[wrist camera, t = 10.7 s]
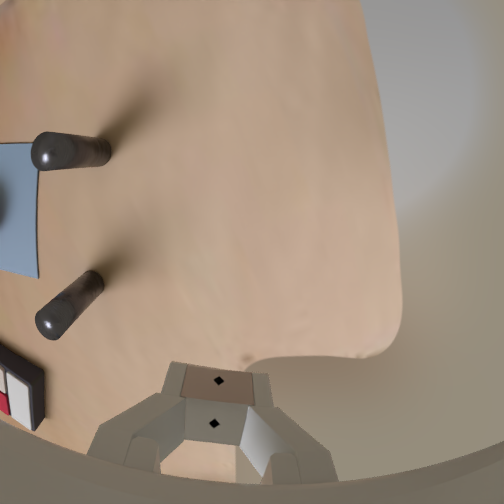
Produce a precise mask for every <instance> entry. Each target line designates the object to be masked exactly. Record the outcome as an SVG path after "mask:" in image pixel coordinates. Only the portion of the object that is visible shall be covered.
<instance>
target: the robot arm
mask: <svg viewBox="0 0 504 504" xmlns="http://www.w3.org/2000/svg"><path fill="white" fill-rule="evenodd" d="M184 439H185V440H193V441H202V442H212V443H219V444H227V445H237V446H240V448H241V449H242V451H243V452H244V454H245V455H246V456H247V458H248V459H249V460H250V462H251V463H252V464H253V466H254V467H255V468H256V470H257V471H258V472H259V474H260V475H261V476H262V480H261V483H260V484H241V483H227V482H215V481H206V480H198V479H190V478H183V477H177V476H171V475H165V474H161V469H160V463H161V462H162V461H163V460H164V459H165V458H166V457H167V456H168V455H169V454H170V453H171V452H172V451H173V450H175V449H176V448H177V447H178V446H179V445H180V444H181V443H182V442H183V441H184ZM0 504H504V441H503V442H500V443H498V444H495V445H493V446H490V447H488V448H485V449H482V450H480V451H477V452H474V453H471V454H468V455H465V456H462V457H459V458H455V459H452V460H449V461H445V462H442V463H438V464H434V465H431V466H427V467H423V468H419V469H414V470H410V471H405V472H400V473H395V474H390V475H385V476H379V477H372V478H366V479H358V480H350V481H340V482H339V481H338V477H337V474H336V471H335V468H334V464H333V461H332V457H331V454H330V452H329V450H327V449H326V448H325V447H324V446H322V445H321V444H320V443H319V442H317V441H316V440H315V439H314V438H313V437H312V436H310V435H309V434H308V433H307V432H306V431H305V430H303V429H302V428H301V427H300V426H299V425H297V423H295V422H294V421H293V420H292V419H291V418H290V417H289V416H287V415H286V414H285V413H284V412H283V411H282V410H281V409H280V408H278V407H274V406H273V400H272V393H271V386H270V380H269V374H268V373H261V372H242V371H232V370H224V369H218V368H211V367H205V366H199V365H193V364H187V363H181V362H175V361H172V362H171V363H170V365H169V368H168V372H167V375H166V378H165V382H164V385H163V388H162V392H161V393H155V394H153V395H152V396H150V397H148V398H146V399H145V400H143V401H141V402H140V403H138V404H136V405H135V406H133V407H131V408H129V409H128V410H126V411H124V412H122V413H121V414H119V415H117V416H115V417H114V418H112V419H110V420H108V421H106V422H105V423H103V424H101V425H99V428H98V430H97V432H96V434H95V437H94V439H93V441H92V443H91V446H90V448H89V450H88V452H87V455H85V454H82V453H79V452H76V451H73V450H70V449H68V448H65V447H62V446H59V445H57V444H54V443H52V442H49V441H47V440H44V439H42V438H39V437H37V436H35V435H32V434H30V433H28V432H26V431H23V430H21V429H19V428H17V427H15V426H13V425H11V424H9V423H7V422H5V421H3V420H1V419H0Z"/></svg>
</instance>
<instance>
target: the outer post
mask: <svg viewBox="0 0 504 504" xmlns="http://www.w3.org/2000/svg"><path fill="white" fill-rule="evenodd" d="M103 289H104V282H103V279H102V277H101V276H100V275H99V274H98V273H96V272H94V271H87V272H85V273H84V274H83V275H81V276H80V277H79V278H78V279H77V280H75V281H74V282H73V283H72V284H70V285H69V286H68V287H67V288H65V289H64V290H63V291H62V292H61V293H59V294H58V295H57V296H56V297H55V298H53V299H52V300H51V301H50V302H49V303H48V304H46V305H45V306H44V307H43V308H42V309H41V310H39V311H38V312H37V313H36V316H35V323H36V326H37V328H38V330H39V332H40V333H41V334H42V335H43V336H44V337H46V338H47V339H49V340H58V339H59V338H60V337H61V336H62V335H63V334H64V332H65V331H66V330H67V329H68V328H69V327H70V326H71V325H72V324H73V322H74V321H75V320H76V319H77V318H78V317H79V316H80V315H81V314H82V313H83V312H84V311H85V310H86V308H87V307H88V306H89V305H90V304H91V303H92V302H93V301H94V300H95V299H96V298H97V297H98V296H99V295H100V294H101V293H102V291H103Z"/></svg>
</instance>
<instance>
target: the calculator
mask: <svg viewBox="0 0 504 504" xmlns="http://www.w3.org/2000/svg"><path fill="white" fill-rule="evenodd" d="M0 410H1V411H2V412H4V413H5V414H7V415H8V416H9V415H11V416H12V417H13V418H14V419H15V420H17V421H18V422H19V423H21V424H22V425H24V426H25V427H27V428H28V429H30V430H33V431H35V430H36V429H37V428H38V426H39V425H40V423H41V422H42V421H43V419H44V418H45V414H44V371H43V370H42V369H40V368H38V367H37V366H35V365H33V364H32V363H30V362H28V361H27V360H25V359H24V358H22V357H20V356H17V355H15V354H14V353H12V352H11V351H10V350H8V349H7V348H5V347H4V346H3V345H1V344H0Z"/></svg>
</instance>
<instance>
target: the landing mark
mask: <svg viewBox="0 0 504 504" xmlns="http://www.w3.org/2000/svg"><path fill="white" fill-rule="evenodd" d="M32 144H33V143H30V144H0V269H1V270H5V271H9V272H13V273H17V274H21V275H25V276H29V277H33V278H37V279H38V278H39V275H38V260H37V226H36V221H37V187H38V172H39V170H38V169H37V168H35V166H34V165H33V163H32V161H31V147H32Z"/></svg>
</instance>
